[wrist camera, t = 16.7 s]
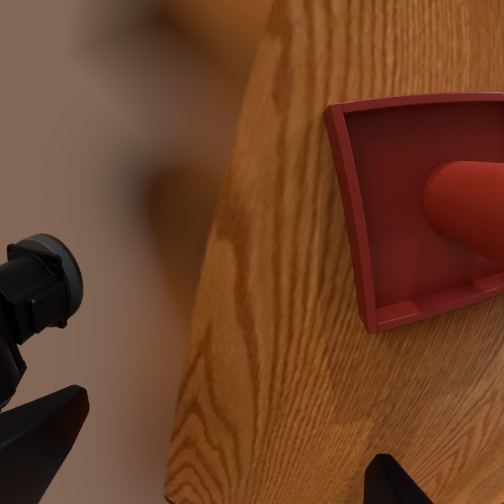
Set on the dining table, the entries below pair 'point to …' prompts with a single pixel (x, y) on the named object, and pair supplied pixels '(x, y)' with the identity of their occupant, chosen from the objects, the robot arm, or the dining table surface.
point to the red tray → (411, 200)
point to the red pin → (468, 206)
